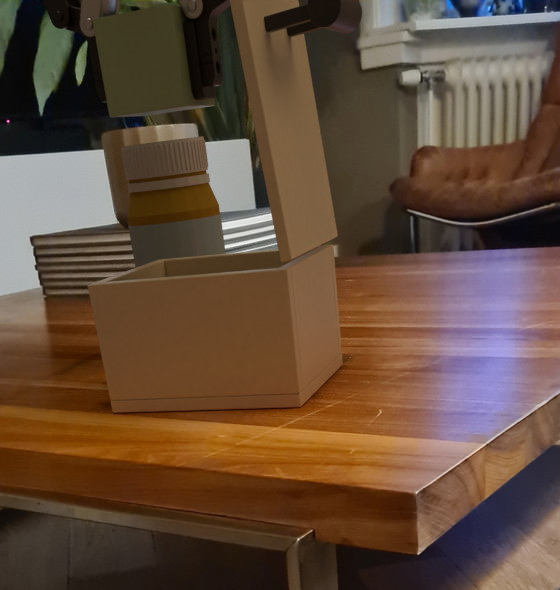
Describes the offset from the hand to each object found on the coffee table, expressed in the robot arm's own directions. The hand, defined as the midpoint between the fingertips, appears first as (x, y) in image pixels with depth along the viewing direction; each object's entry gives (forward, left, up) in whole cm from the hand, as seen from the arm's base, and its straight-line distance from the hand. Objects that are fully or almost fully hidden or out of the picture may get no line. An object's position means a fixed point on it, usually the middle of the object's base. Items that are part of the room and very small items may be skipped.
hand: (161, 103), depth 54 cm
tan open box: (+2, 0, -17) cm, 17 cm away
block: (0, 0, 0) cm, 0 cm away
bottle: (-6, +13, -17) cm, 22 cm away
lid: (+7, 0, -2) cm, 8 cm away
